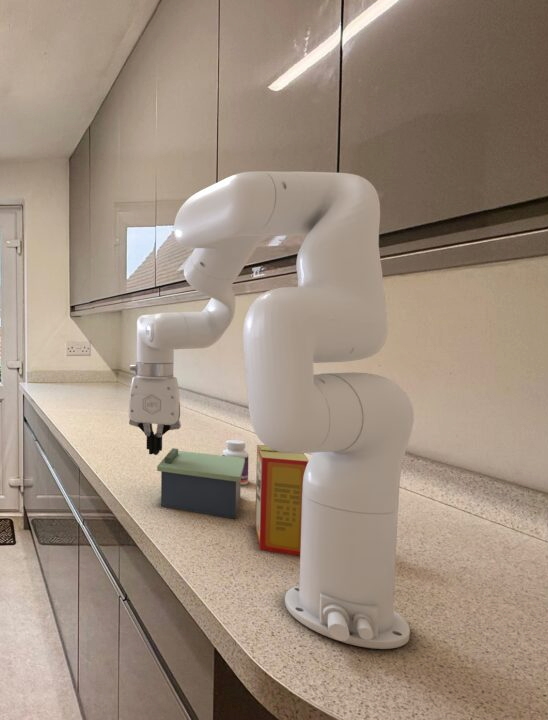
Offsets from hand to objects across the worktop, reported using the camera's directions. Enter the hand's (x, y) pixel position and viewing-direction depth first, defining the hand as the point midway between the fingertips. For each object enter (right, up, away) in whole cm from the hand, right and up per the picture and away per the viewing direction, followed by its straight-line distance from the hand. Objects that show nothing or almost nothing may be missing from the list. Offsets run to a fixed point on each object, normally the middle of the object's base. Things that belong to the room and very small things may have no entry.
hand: (154, 453), depth 109 cm
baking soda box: (+13, -11, -24) cm, 29 cm away
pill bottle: (+22, -9, +8) cm, 25 cm away
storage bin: (+8, -10, -5) cm, 13 cm away
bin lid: (+8, -2, -5) cm, 10 cm away
